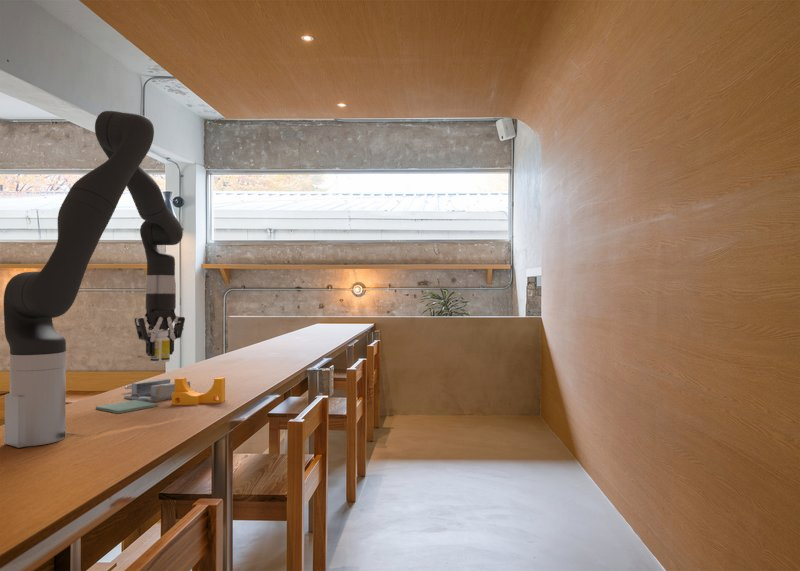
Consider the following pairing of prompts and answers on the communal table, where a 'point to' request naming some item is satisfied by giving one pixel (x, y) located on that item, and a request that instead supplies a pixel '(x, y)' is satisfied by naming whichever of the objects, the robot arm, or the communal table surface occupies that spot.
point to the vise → (152, 390)
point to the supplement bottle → (161, 348)
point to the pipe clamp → (190, 397)
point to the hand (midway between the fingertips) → (160, 354)
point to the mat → (126, 406)
